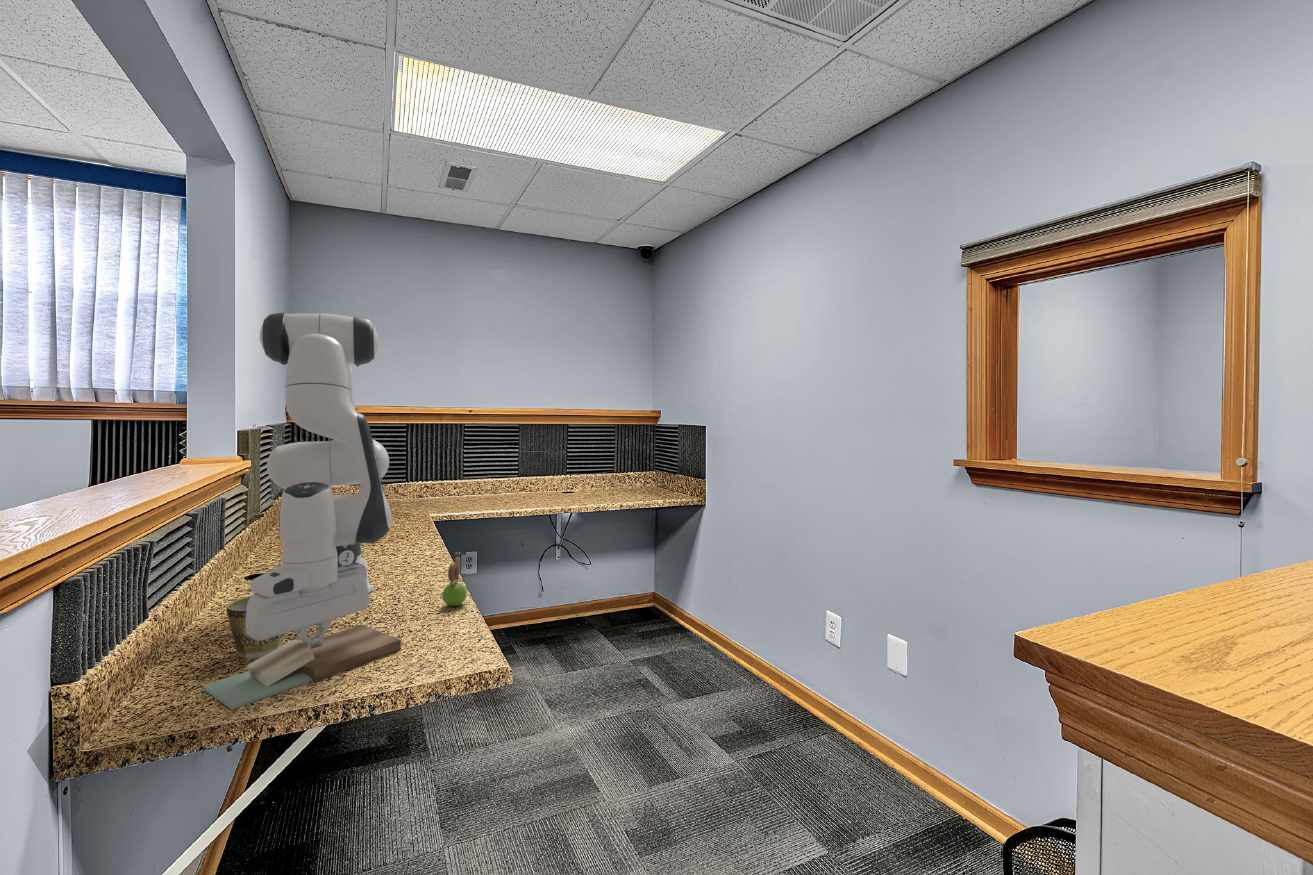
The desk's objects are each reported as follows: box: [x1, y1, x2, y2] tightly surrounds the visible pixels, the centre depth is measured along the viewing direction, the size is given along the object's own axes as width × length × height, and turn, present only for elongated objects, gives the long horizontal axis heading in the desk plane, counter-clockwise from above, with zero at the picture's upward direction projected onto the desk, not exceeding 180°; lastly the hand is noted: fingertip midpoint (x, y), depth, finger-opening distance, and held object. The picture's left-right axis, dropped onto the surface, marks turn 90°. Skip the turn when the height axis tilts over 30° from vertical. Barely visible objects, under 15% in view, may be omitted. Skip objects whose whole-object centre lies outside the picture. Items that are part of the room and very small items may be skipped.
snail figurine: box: [441, 551, 467, 607], centre depth 140 cm, size 5×6×12 cm
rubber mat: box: [202, 670, 313, 711], centre depth 100 cm, size 12×12×1 cm
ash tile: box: [246, 639, 315, 687], centre depth 103 cm, size 6×8×2 cm
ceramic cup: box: [225, 595, 284, 660], centre depth 115 cm, size 13×10×10 cm
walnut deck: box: [297, 624, 402, 682], centre depth 112 cm, size 14×16×2 cm
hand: (313, 647), depth 108 cm, fingers closed
